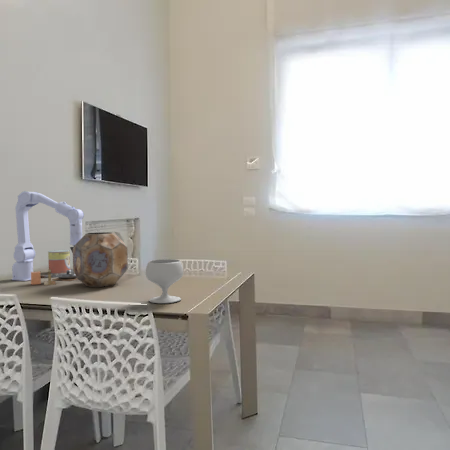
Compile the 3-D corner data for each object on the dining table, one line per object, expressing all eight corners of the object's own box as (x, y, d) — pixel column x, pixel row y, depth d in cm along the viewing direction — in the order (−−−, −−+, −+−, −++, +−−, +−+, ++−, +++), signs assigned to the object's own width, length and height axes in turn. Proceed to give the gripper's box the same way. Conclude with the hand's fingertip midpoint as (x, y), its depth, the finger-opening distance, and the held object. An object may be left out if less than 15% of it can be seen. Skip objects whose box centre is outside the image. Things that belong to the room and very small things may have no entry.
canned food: (65, 273, 234) (65, 251, 234) (45, 274, 234) (44, 252, 234) (73, 270, 245) (72, 249, 245) (53, 271, 246) (53, 250, 245)
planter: (63, 288, 191) (61, 234, 190) (97, 279, 214) (96, 231, 213) (105, 290, 184) (104, 235, 183) (136, 281, 207) (135, 231, 206)
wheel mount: (52, 279, 214) (52, 278, 214) (68, 276, 225) (68, 275, 225) (69, 281, 210) (69, 279, 210) (85, 277, 220) (85, 276, 220)
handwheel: (53, 277, 215) (53, 269, 214) (68, 274, 224) (68, 267, 224) (69, 278, 211) (69, 270, 211) (83, 275, 220) (83, 267, 220)
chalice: (138, 303, 159) (138, 262, 158) (158, 296, 172) (157, 258, 171) (172, 306, 154) (172, 264, 153) (189, 298, 167) (189, 259, 166)
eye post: (43, 285, 199) (43, 272, 199) (44, 282, 208) (43, 269, 208) (55, 284, 201) (55, 271, 201) (55, 281, 210) (55, 268, 210)
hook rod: (31, 284, 200) (30, 272, 199) (31, 283, 204) (31, 271, 203) (61, 282, 205) (61, 271, 204) (61, 281, 208) (61, 269, 208)
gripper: (87, 233, 206) (87, 262, 207) (82, 232, 219) (83, 259, 220) (71, 234, 203) (72, 263, 204) (67, 233, 216) (68, 260, 217)
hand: (76, 261), depth 212 cm, fingers closed
